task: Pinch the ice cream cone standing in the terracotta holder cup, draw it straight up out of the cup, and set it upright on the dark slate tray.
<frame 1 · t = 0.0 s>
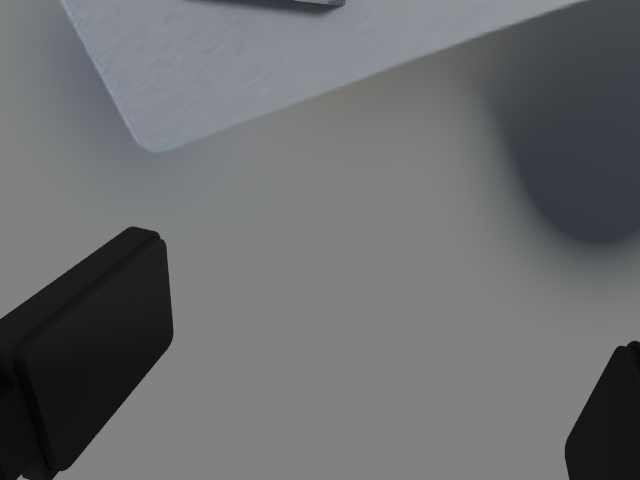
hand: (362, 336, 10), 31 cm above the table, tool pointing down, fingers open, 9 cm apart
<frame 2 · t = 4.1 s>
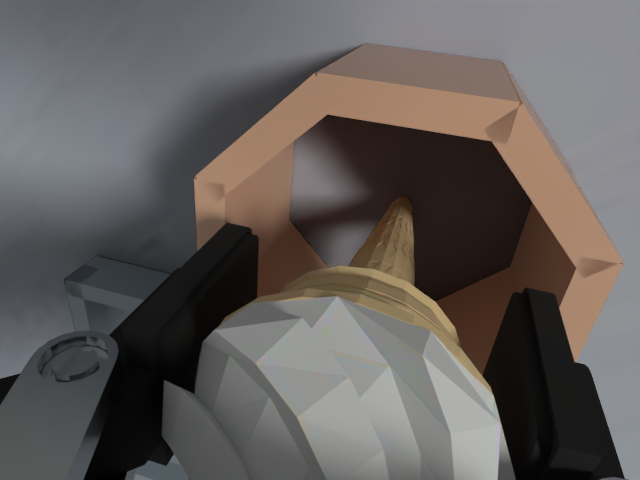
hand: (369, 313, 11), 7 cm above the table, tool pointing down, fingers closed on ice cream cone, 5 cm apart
slate tray: (220, 392, 23), on the table
ice cream cone: (403, 198, 16), resting in holder cup, touching gripper
holder cup: (403, 200, 16), on the table
when the fingers open (9 cm above the table, at t = 11.8 s): ice cream cone drops 1 cm, resting on slate tray.
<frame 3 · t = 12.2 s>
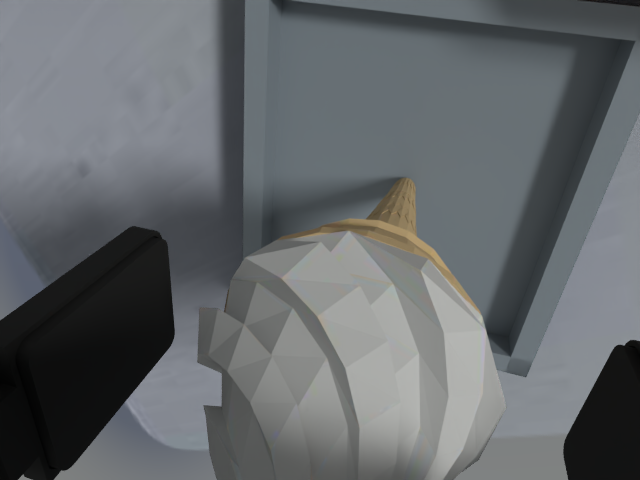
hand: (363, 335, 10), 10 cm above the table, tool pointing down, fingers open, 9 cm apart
slate tray: (409, 177, 18), on the table
ice cream cone: (406, 179, 17), point 1 cm above the table, touching slate tray
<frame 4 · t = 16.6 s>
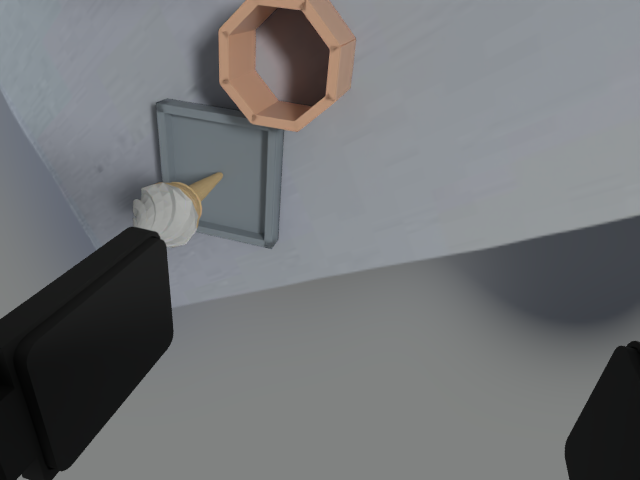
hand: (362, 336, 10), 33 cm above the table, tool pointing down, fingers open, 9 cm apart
slate tray: (225, 172, 48), on the table
ice cream cone: (221, 172, 47), point 1 cm above the table, touching slate tray
holder cup: (298, 56, 40), on the table
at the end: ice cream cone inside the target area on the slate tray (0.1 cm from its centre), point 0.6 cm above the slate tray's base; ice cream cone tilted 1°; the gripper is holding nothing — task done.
